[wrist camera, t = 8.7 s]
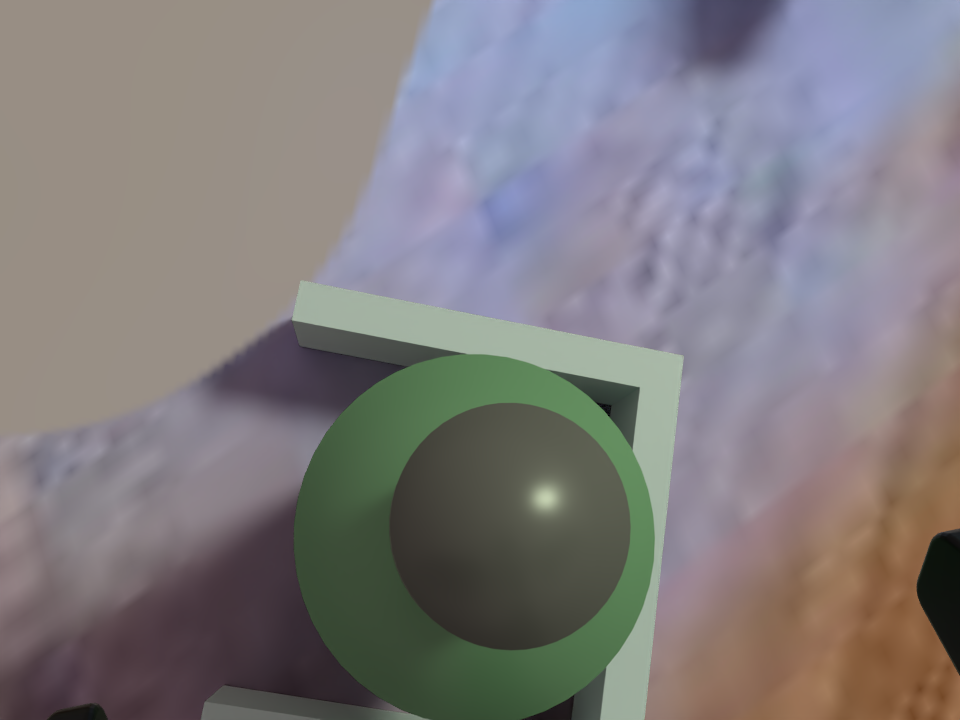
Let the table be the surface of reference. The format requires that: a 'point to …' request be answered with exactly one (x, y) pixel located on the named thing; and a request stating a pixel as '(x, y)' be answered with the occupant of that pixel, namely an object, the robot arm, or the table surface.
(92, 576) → the table surface
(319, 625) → the bottle
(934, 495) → the table surface
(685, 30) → the table surface
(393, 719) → the u rest
